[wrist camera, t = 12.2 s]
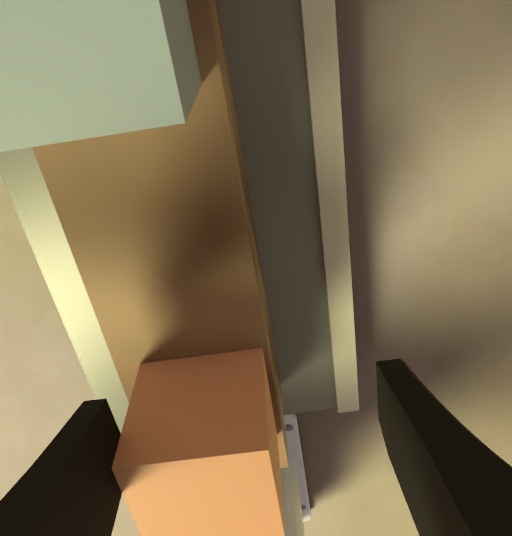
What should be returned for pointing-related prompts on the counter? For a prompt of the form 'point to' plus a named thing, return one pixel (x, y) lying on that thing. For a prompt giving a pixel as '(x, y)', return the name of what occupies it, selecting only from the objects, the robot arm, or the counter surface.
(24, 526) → the robot arm
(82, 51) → the block
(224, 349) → the board
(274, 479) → the block
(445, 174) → the counter surface
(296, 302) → the dock
